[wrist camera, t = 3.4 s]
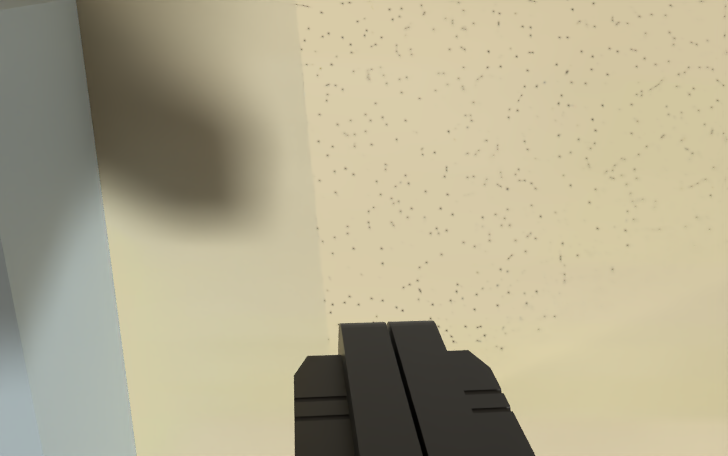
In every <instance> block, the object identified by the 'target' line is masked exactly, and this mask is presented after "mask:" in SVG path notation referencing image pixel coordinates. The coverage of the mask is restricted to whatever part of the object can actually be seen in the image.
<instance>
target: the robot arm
mask: <svg viewBox="0 0 728 456" xmlns="http://www.w3.org/2000/svg"><path fill="white" fill-rule="evenodd" d="M294 415H295V456H535V454H534V452H533V450H532V448H531V446H530V444H529V442H528V440H527V438H526V436H525V435H524V433H523V431H522V429H521V427H520V425H519V423H518V421H517V419H516V417H515V415H514V413H513V411H512V412H511V410H510V405H509V403H508V401H507V399H506V397H505V395H504V394H503V393H501V388H500V386H499V384H498V382H497V380H496V378H495V376H494V374H493V372H492V370H491V368H490V367H489V366H487V365H486V364H485V363H484V362H482V361H481V360H480V359H479V358H477V357H476V356H475V355H474V354H472V353H471V352H470V351H468V350H462V351H447V350H446V347H445V345H444V343H443V340H442V338H441V335H440V333H439V331H438V328H437V326H436V324H435V322H434V321H403V322H388V323H387V325H386V323H385V322H375V323H342V324H339V342H338V355H325V356H307V358H306V359H305V360H304V362H303V363H302V365H301V366H300V368H299V369H298V371H297V372H296V373H295V375H294Z"/></svg>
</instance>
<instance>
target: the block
mask: <svg viewBox="0 0 728 456" xmlns="http://www.w3.org/2000/svg"><path fill="white" fill-rule="evenodd" d="M0 456H137V454H136V447H135V439H134V432H133V424H132V417H131V409H130V402H129V394H128V387H127V379H126V372H125V364H124V357H123V349H122V342H121V334H120V327H119V319H118V312H117V304H116V297H115V289H114V282H113V274H112V267H111V259H110V252H109V244H108V237H107V229H106V222H105V214H104V207H103V199H102V192H101V184H100V177H99V169H98V161H97V154H96V146H95V139H94V131H93V124H92V116H91V109H90V101H89V94H88V86H87V79H86V71H85V64H84V56H83V49H82V41H81V34H80V26H79V19H78V11H77V4H76V0H0Z"/></svg>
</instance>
